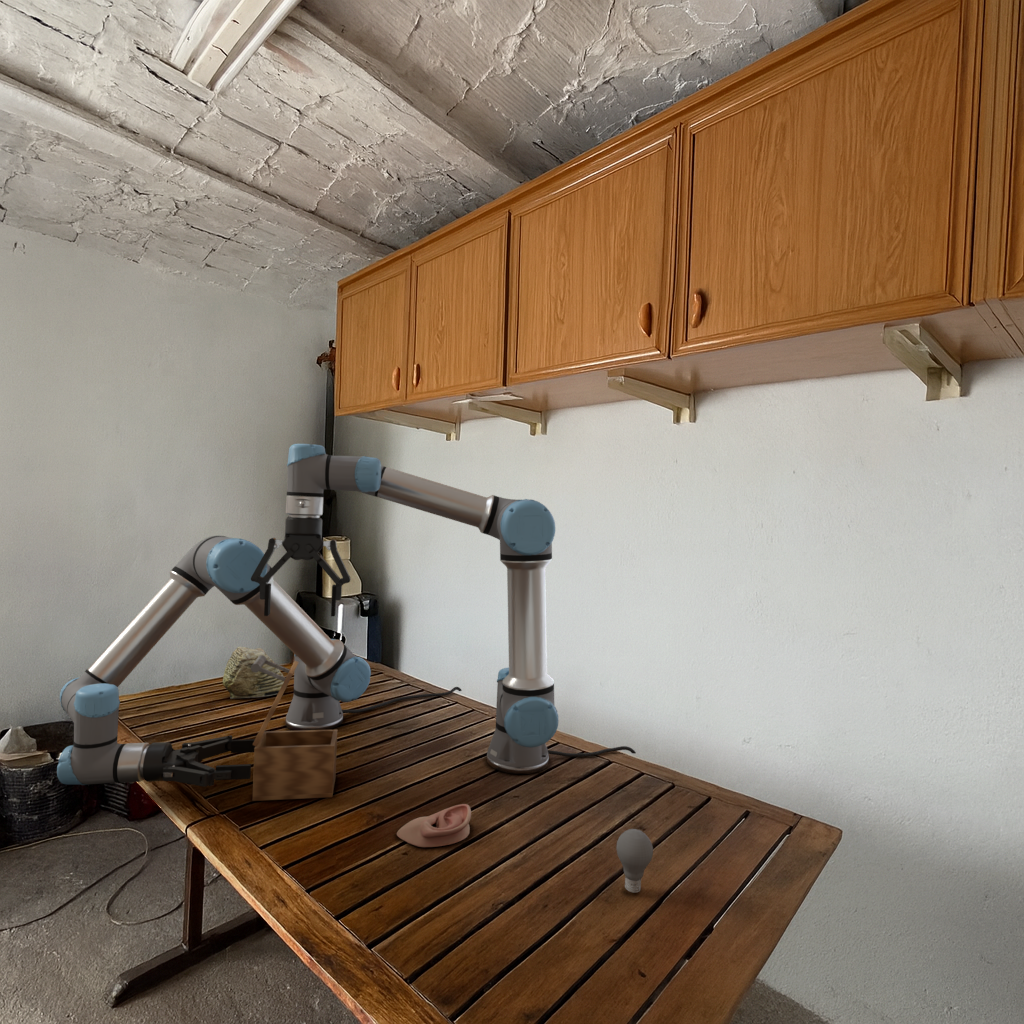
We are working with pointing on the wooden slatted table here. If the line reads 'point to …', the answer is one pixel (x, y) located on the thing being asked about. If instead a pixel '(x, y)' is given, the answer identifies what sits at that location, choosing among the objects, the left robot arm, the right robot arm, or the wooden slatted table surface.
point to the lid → (258, 667)
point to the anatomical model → (438, 827)
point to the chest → (295, 765)
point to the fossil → (250, 675)
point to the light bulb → (634, 857)
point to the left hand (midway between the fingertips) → (257, 757)
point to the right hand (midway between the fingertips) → (300, 615)
